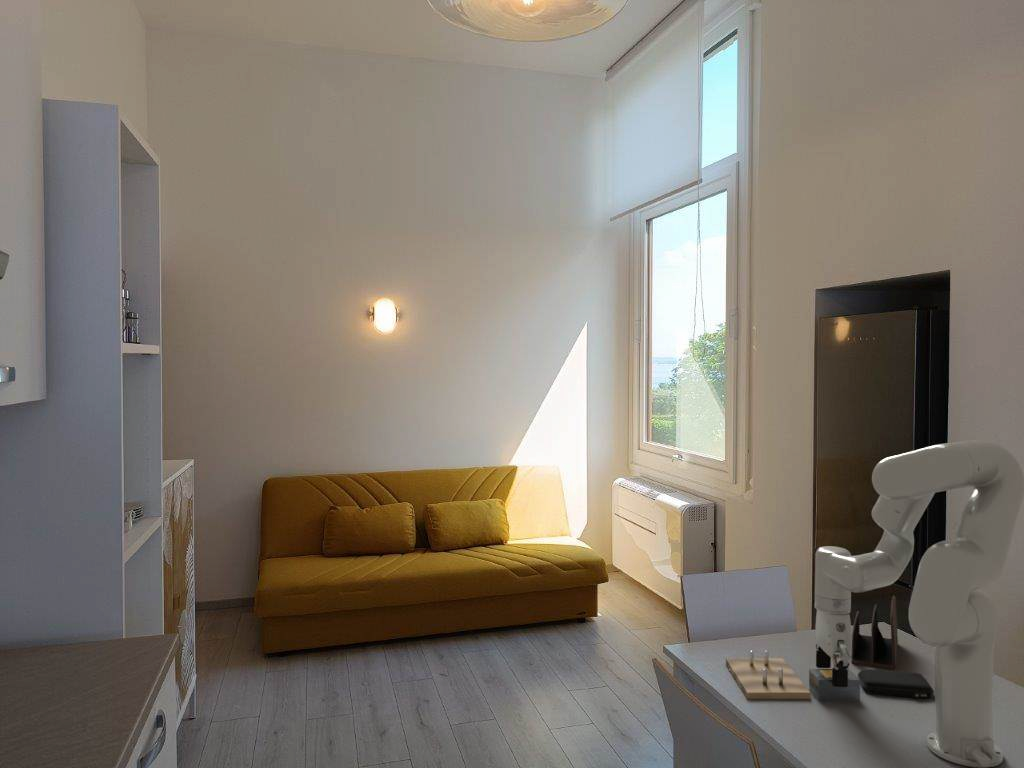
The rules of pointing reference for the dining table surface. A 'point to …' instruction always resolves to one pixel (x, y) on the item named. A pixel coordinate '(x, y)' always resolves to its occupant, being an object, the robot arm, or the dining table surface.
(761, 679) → the tray
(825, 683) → the block
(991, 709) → the robot arm
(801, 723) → the dining table surface
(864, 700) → the dining table surface
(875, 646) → the letter holder
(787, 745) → the dining table surface
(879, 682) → the carrying case or bag
